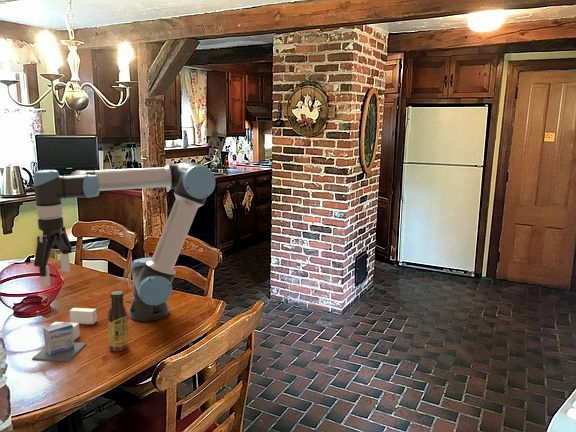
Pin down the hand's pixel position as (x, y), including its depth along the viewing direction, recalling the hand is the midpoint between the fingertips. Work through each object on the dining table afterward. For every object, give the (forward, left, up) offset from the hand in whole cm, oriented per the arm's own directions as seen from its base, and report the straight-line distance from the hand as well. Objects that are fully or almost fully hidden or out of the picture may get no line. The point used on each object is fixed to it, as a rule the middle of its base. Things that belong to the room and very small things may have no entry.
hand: (56, 278), depth 160 cm
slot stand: (0, -10, -23) cm, 25 cm away
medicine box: (-4, +7, -23) cm, 24 cm away
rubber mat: (-4, +7, -23) cm, 25 cm away
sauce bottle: (-22, +2, -24) cm, 32 cm away
